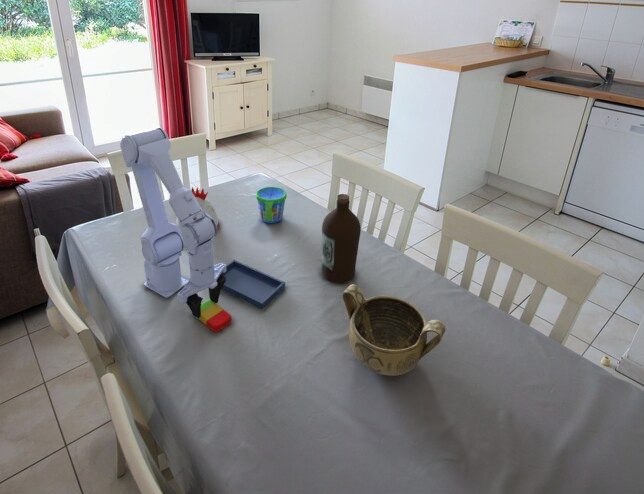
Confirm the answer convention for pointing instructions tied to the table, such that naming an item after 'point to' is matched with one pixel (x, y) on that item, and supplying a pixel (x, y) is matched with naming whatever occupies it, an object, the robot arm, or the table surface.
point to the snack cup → (271, 203)
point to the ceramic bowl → (388, 332)
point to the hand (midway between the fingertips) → (205, 308)
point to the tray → (251, 284)
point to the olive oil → (340, 242)
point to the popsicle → (214, 316)
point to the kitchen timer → (203, 207)
